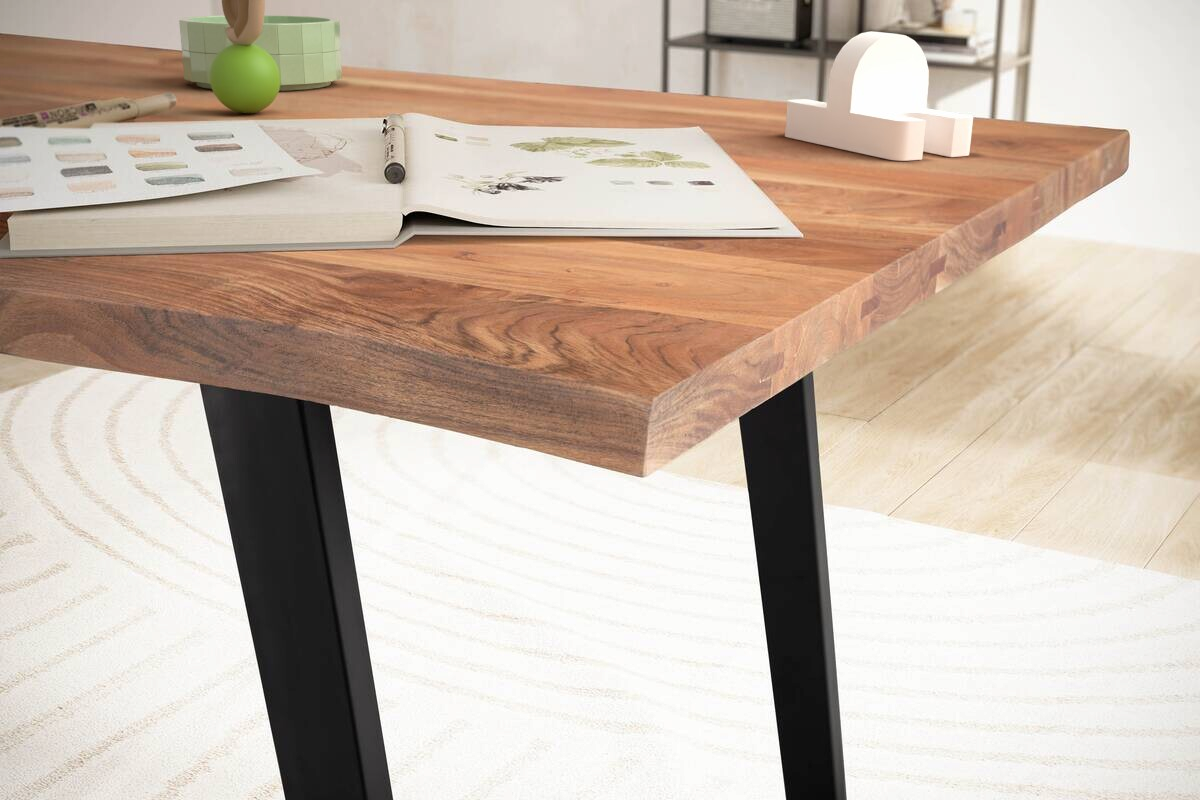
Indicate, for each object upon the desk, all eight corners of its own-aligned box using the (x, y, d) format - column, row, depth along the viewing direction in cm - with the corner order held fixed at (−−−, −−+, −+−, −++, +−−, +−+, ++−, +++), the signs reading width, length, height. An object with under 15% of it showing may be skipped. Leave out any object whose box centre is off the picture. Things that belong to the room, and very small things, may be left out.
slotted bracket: (974, 155, 88) (988, 38, 86) (897, 161, 85) (909, 39, 82) (852, 131, 99) (861, 26, 96) (780, 135, 96) (787, 27, 93)
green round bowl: (214, 95, 113) (209, 25, 111) (165, 80, 125) (159, 16, 123) (366, 88, 121) (363, 22, 119) (306, 74, 133) (303, 14, 131)
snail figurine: (238, 120, 98) (226, -45, 94) (200, 112, 102) (187, -47, 98) (301, 115, 101) (292, -44, 97) (261, 107, 106) (251, -46, 102)
